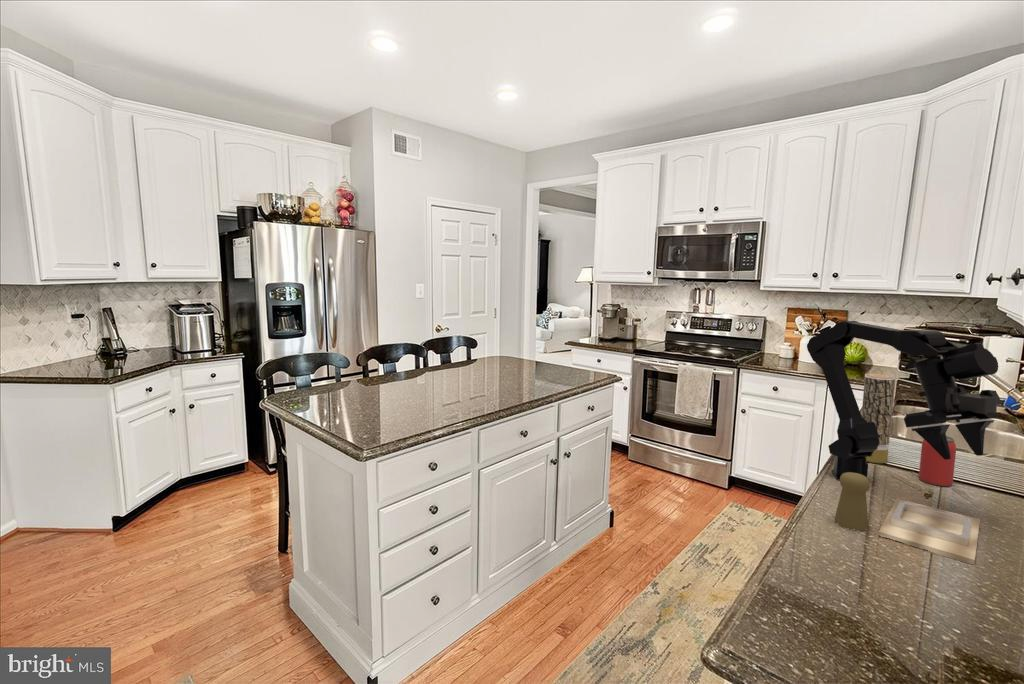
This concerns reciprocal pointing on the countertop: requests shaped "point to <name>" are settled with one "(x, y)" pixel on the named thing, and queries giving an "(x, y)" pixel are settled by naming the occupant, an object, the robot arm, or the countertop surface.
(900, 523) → the clear rectangular frame
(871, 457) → the brown tall cylinder
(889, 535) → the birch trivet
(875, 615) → the countertop surface
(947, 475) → the beer can
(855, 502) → the cork
